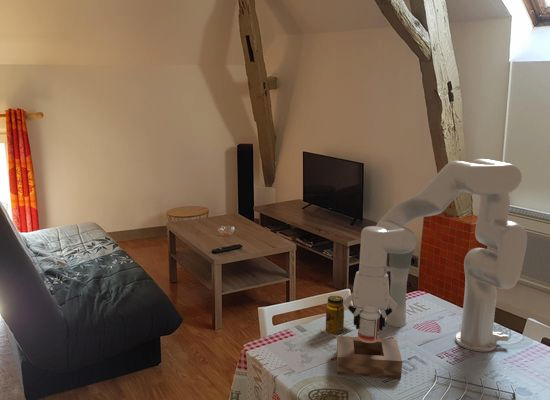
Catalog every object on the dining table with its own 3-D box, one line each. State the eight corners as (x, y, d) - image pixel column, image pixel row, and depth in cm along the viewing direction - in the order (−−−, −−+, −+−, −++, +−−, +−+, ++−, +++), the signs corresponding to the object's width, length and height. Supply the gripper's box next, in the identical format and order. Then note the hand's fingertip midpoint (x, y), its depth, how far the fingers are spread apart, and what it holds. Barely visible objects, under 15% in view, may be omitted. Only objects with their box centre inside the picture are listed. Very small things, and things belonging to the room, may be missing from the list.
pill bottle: (370, 332, 156) (372, 297, 154) (383, 341, 151) (385, 305, 148) (353, 336, 153) (355, 300, 151) (365, 345, 148) (367, 308, 146)
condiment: (320, 330, 176) (321, 297, 173) (336, 323, 181) (337, 291, 179) (336, 338, 170) (337, 304, 168) (352, 330, 176) (354, 297, 173)
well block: (395, 355, 159) (396, 339, 158) (400, 378, 147) (402, 361, 145) (336, 352, 161) (337, 335, 160) (337, 374, 149) (337, 356, 147)
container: (378, 323, 181) (382, 241, 175) (388, 314, 189) (393, 235, 182) (404, 331, 176) (409, 246, 170) (413, 321, 183) (419, 239, 177)
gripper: (401, 267, 150) (397, 324, 154) (341, 263, 152) (339, 320, 156) (405, 276, 143) (400, 336, 147) (342, 272, 145) (339, 331, 149)
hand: (368, 327), depth 151 cm, fingers closed on pill bottle, 6 cm apart
